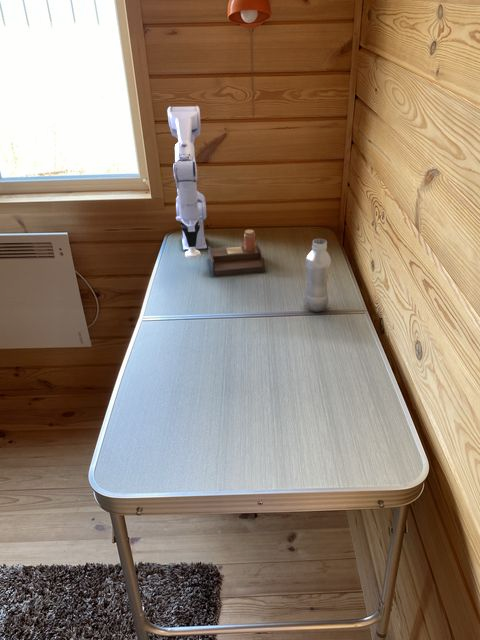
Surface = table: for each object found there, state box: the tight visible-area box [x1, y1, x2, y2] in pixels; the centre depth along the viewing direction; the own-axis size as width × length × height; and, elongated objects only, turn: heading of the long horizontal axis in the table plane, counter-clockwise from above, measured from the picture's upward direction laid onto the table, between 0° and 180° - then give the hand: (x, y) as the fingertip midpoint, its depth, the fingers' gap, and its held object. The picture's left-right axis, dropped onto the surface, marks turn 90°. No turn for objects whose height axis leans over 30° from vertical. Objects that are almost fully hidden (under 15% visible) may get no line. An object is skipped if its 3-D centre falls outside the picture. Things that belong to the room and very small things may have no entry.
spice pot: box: [243, 229, 256, 252], centre depth 165 cm, size 4×4×6 cm
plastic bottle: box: [303, 238, 332, 313], centre depth 138 cm, size 6×7×20 cm
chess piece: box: [184, 247, 202, 259], centre depth 161 cm, size 5×5×10 cm
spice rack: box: [207, 241, 265, 277], centre depth 165 cm, size 12×16×5 cm
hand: (191, 244), depth 161 cm, fingers closed on chess piece
